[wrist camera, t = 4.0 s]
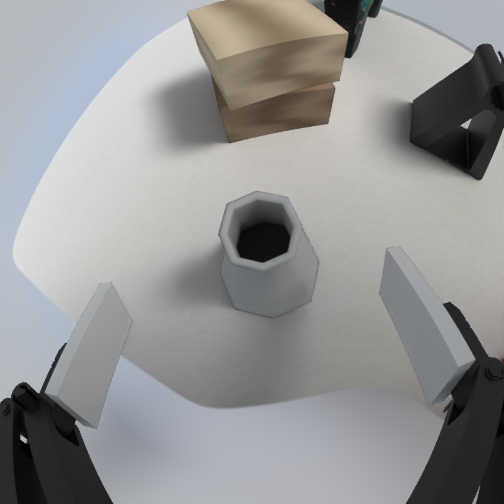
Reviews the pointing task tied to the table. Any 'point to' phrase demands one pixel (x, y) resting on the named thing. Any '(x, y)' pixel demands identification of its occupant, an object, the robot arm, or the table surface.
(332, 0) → the ceramic cat
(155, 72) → the table surface
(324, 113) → the block lower
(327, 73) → the block upper
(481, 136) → the phone stand
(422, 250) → the table surface
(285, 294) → the flask
